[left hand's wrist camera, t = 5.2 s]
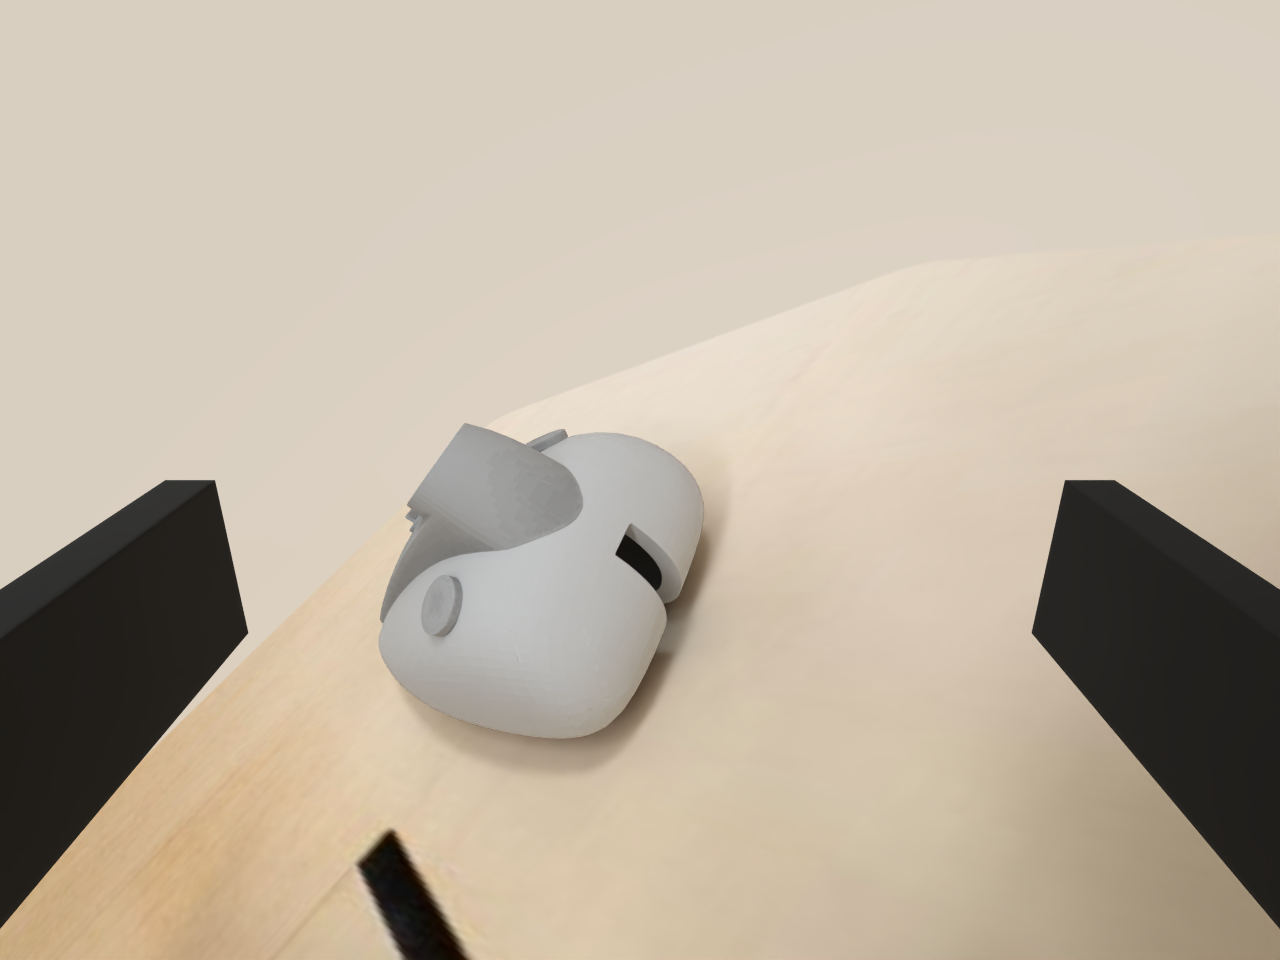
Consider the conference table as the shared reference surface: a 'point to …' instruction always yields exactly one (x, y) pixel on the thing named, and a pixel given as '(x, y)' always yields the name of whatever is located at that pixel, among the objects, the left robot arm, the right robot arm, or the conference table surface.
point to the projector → (539, 578)
